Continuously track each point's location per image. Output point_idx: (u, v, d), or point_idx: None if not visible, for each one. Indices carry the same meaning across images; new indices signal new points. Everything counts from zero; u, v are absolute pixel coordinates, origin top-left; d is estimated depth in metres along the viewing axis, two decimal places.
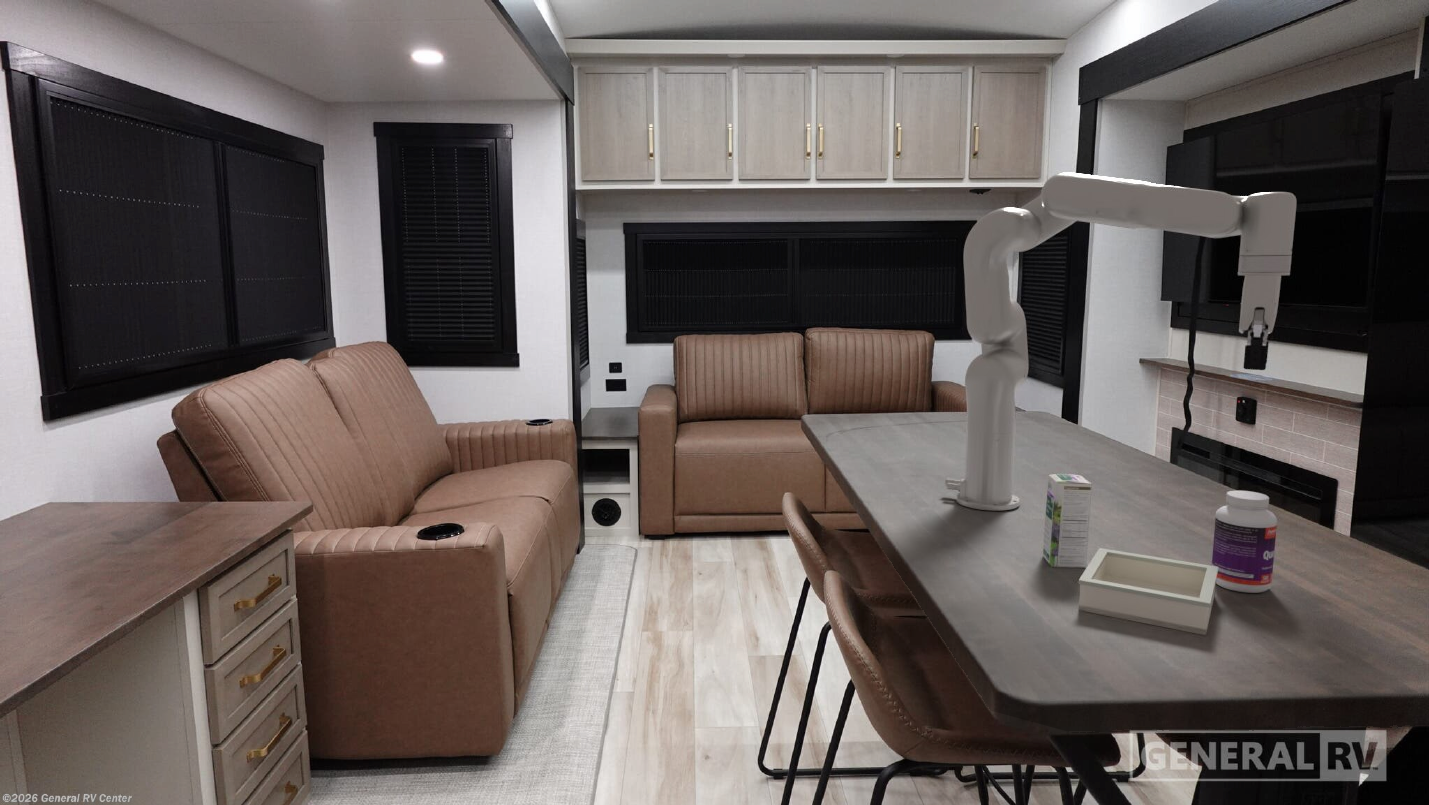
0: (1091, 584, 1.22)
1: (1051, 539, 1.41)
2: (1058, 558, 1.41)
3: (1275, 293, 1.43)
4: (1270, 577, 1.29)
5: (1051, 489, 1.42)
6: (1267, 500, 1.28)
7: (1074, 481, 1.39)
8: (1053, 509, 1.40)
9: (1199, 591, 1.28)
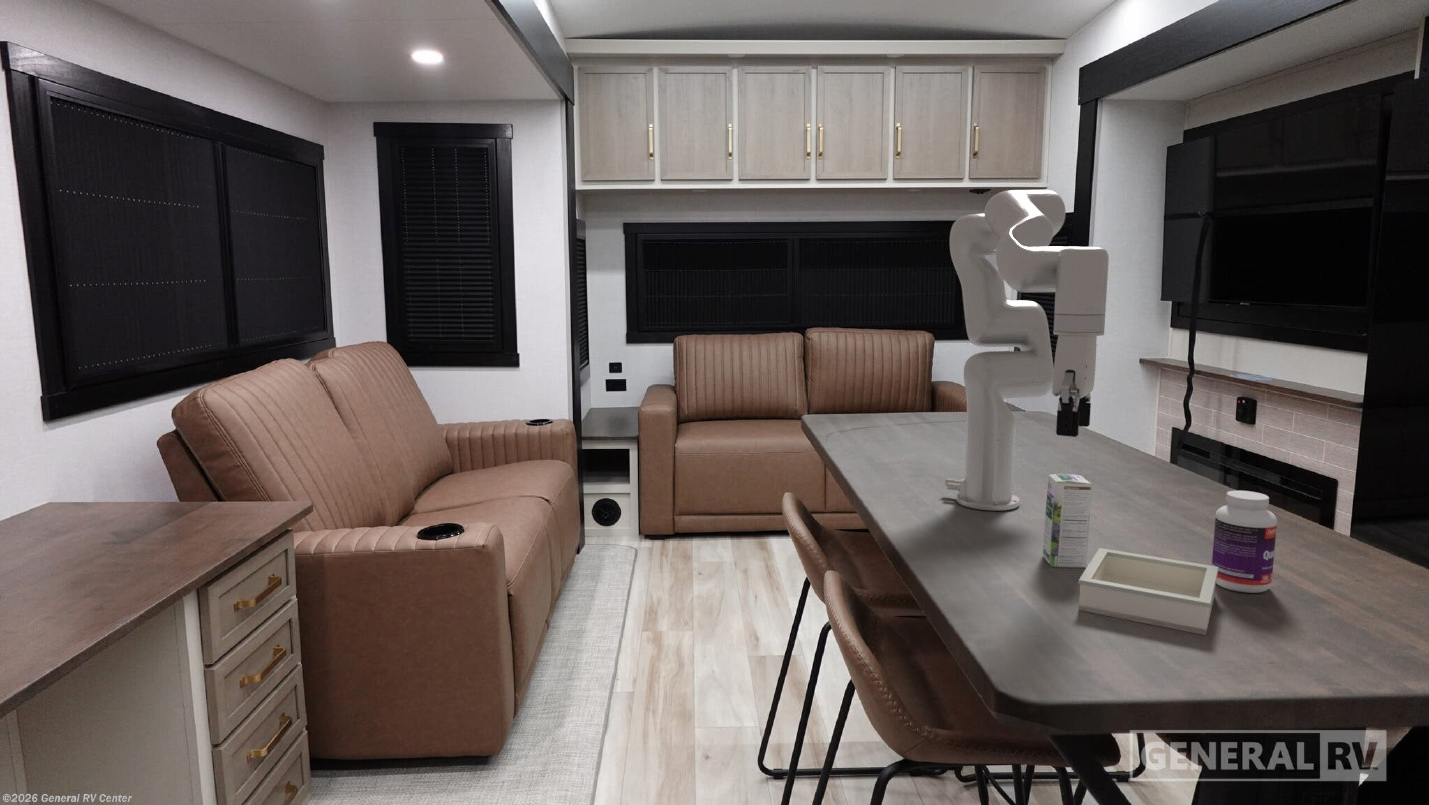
0: (1091, 584, 1.22)
1: (1051, 539, 1.41)
2: (1058, 558, 1.41)
3: (1085, 355, 1.33)
4: (1270, 577, 1.29)
5: (1051, 489, 1.42)
6: (1267, 500, 1.28)
7: (1074, 481, 1.39)
8: (1053, 509, 1.40)
9: (1199, 591, 1.28)
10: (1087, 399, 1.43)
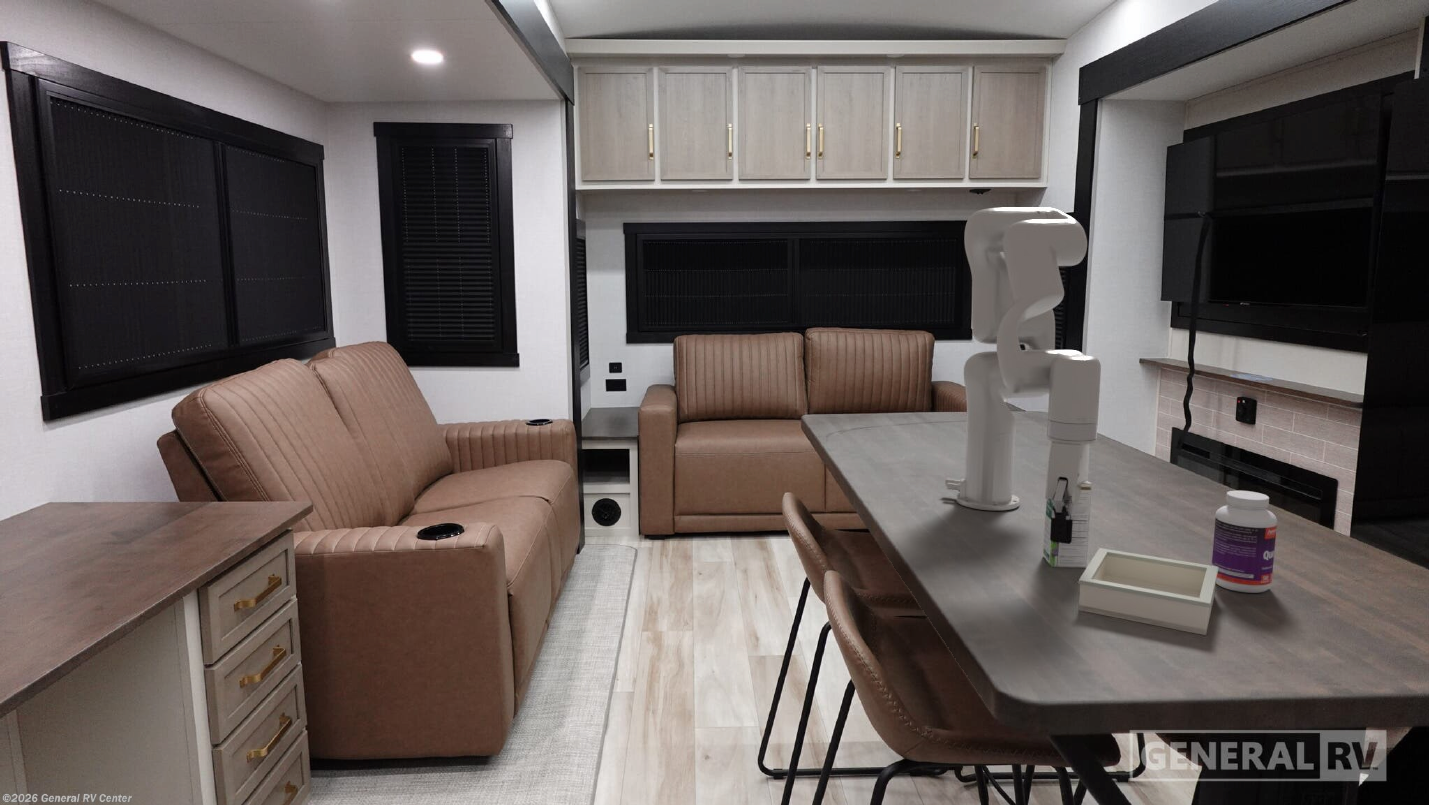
0: (1091, 584, 1.22)
1: None
2: (1058, 558, 1.41)
3: (1078, 463, 1.36)
4: (1270, 577, 1.29)
5: None
6: (1267, 500, 1.28)
7: None
8: None
9: (1199, 591, 1.28)
10: None
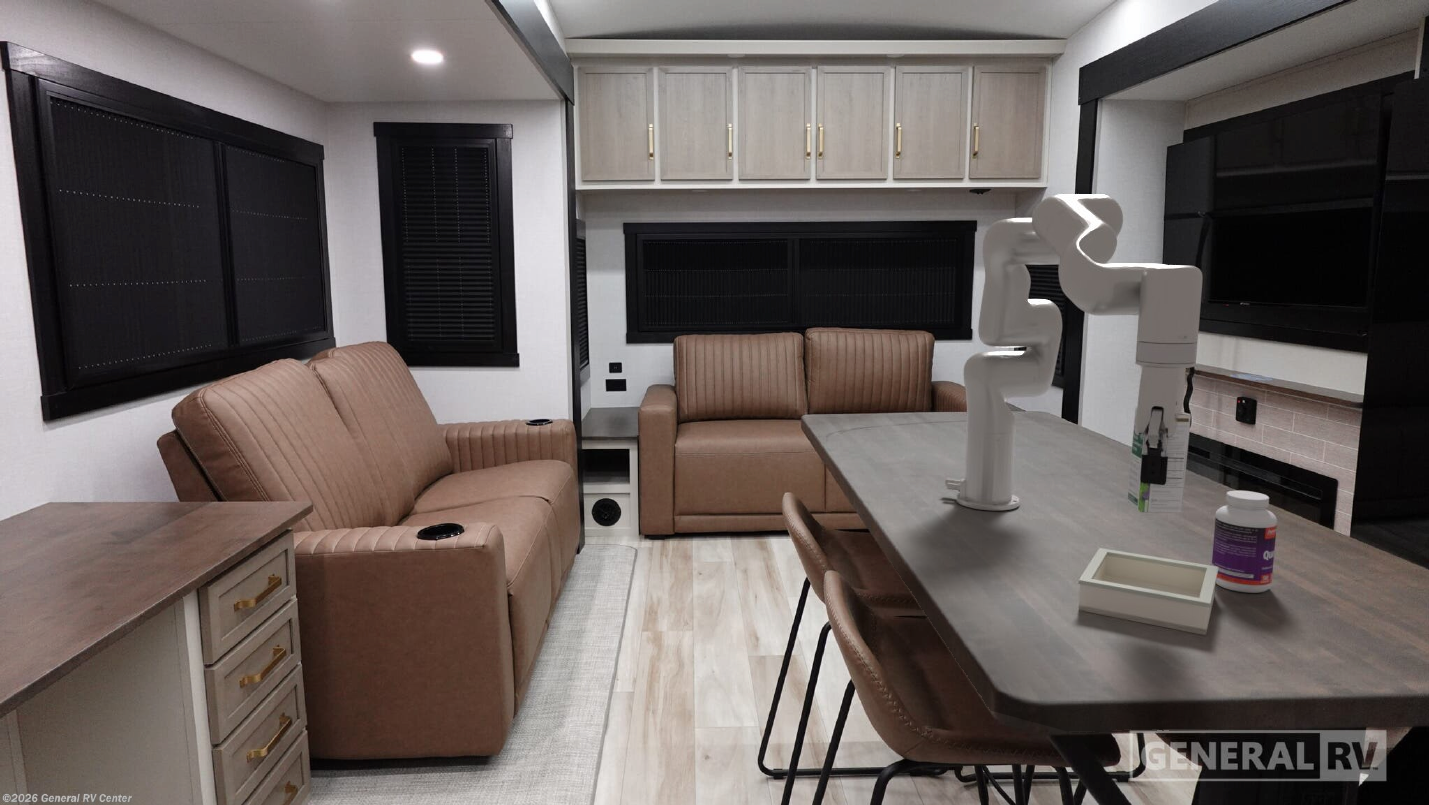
0: (1091, 584, 1.22)
1: None
2: (1149, 502, 1.21)
3: (1176, 390, 1.16)
4: (1270, 577, 1.29)
5: None
6: (1267, 500, 1.28)
7: None
8: None
9: (1199, 591, 1.28)
10: None
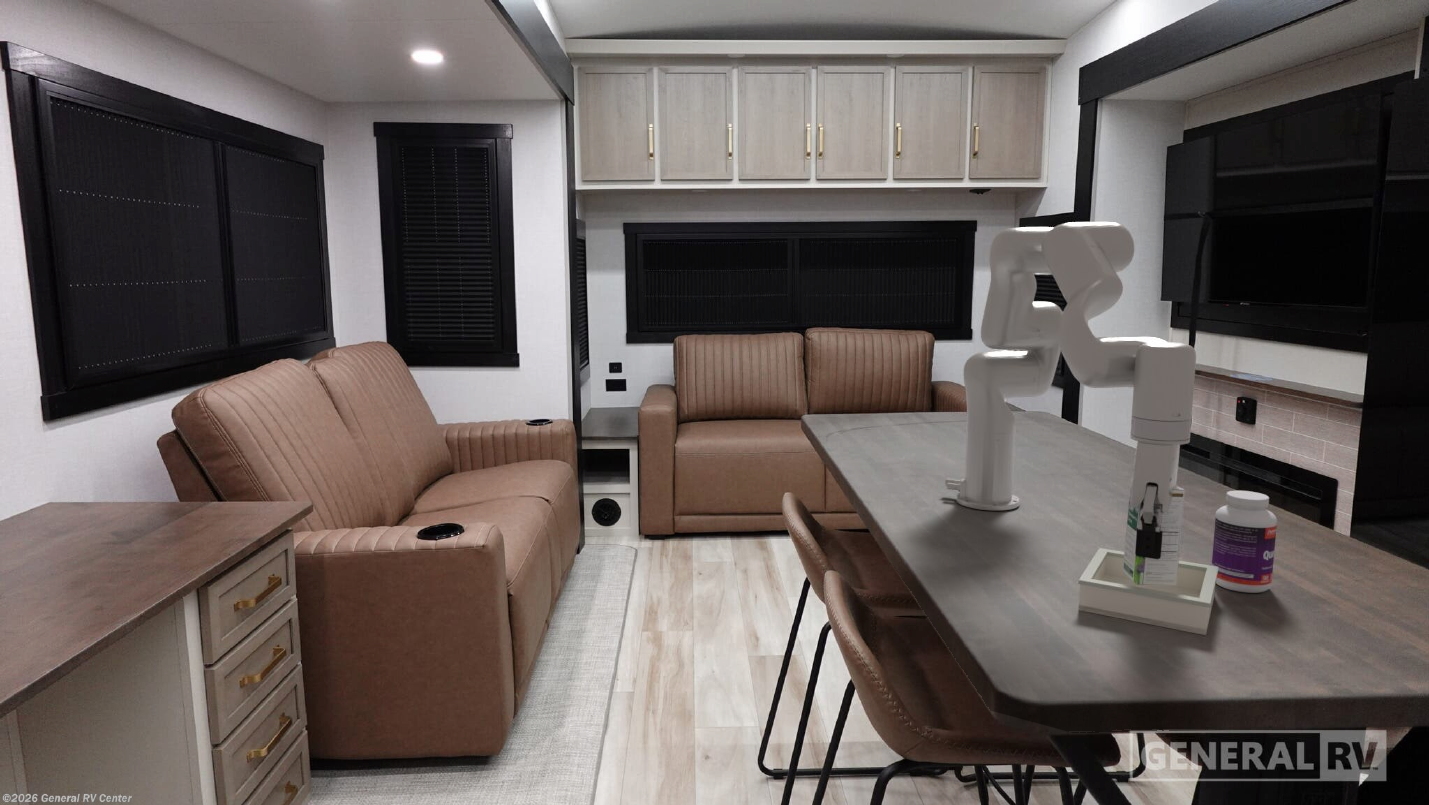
0: (1091, 584, 1.22)
1: None
2: (1144, 575, 1.23)
3: (1170, 467, 1.18)
4: (1270, 577, 1.29)
5: None
6: (1267, 500, 1.28)
7: None
8: None
9: (1199, 591, 1.28)
10: None
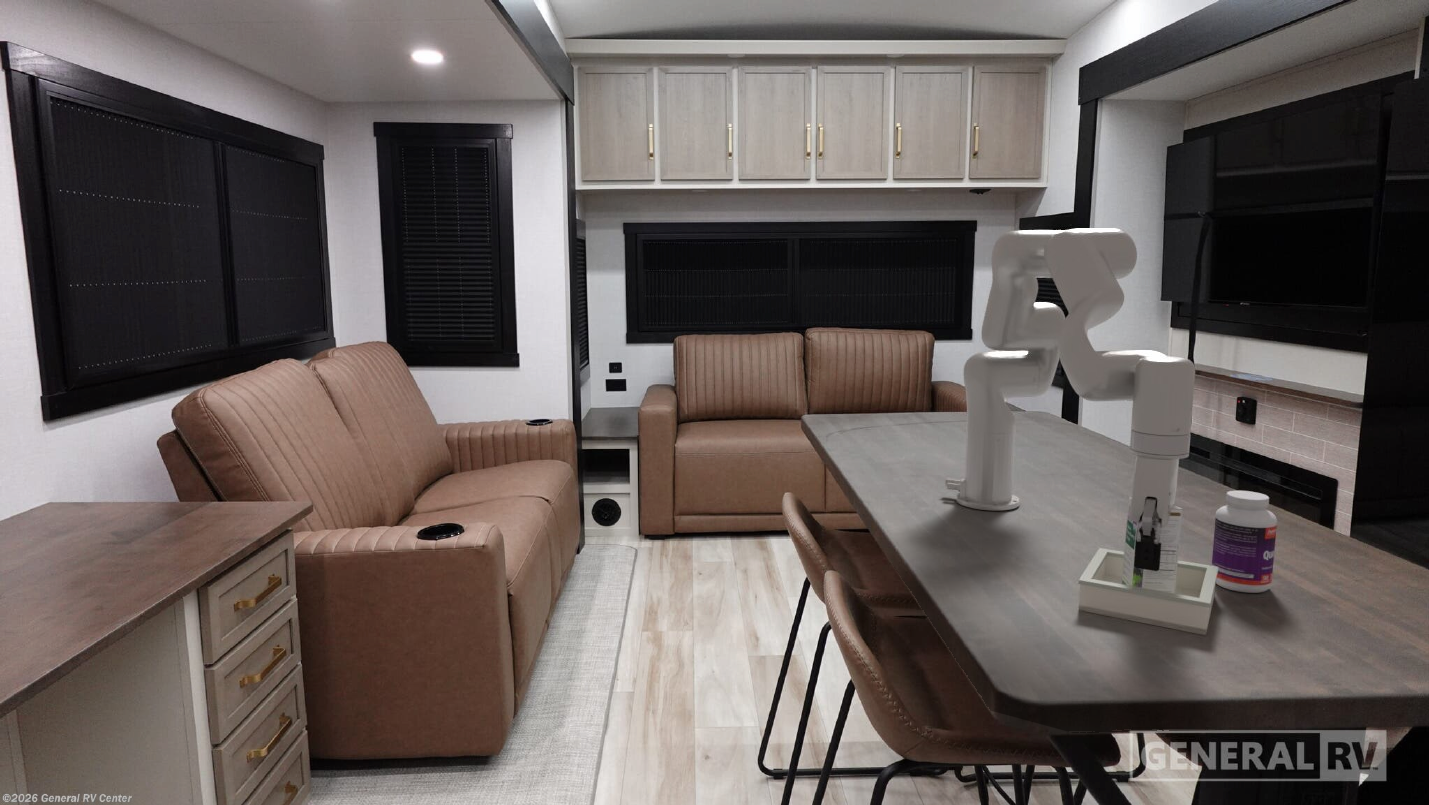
0: (1091, 584, 1.22)
1: (1134, 571, 1.24)
2: None
3: (1169, 481, 1.18)
4: (1270, 577, 1.29)
5: None
6: (1267, 500, 1.28)
7: None
8: None
9: (1199, 591, 1.28)
10: None
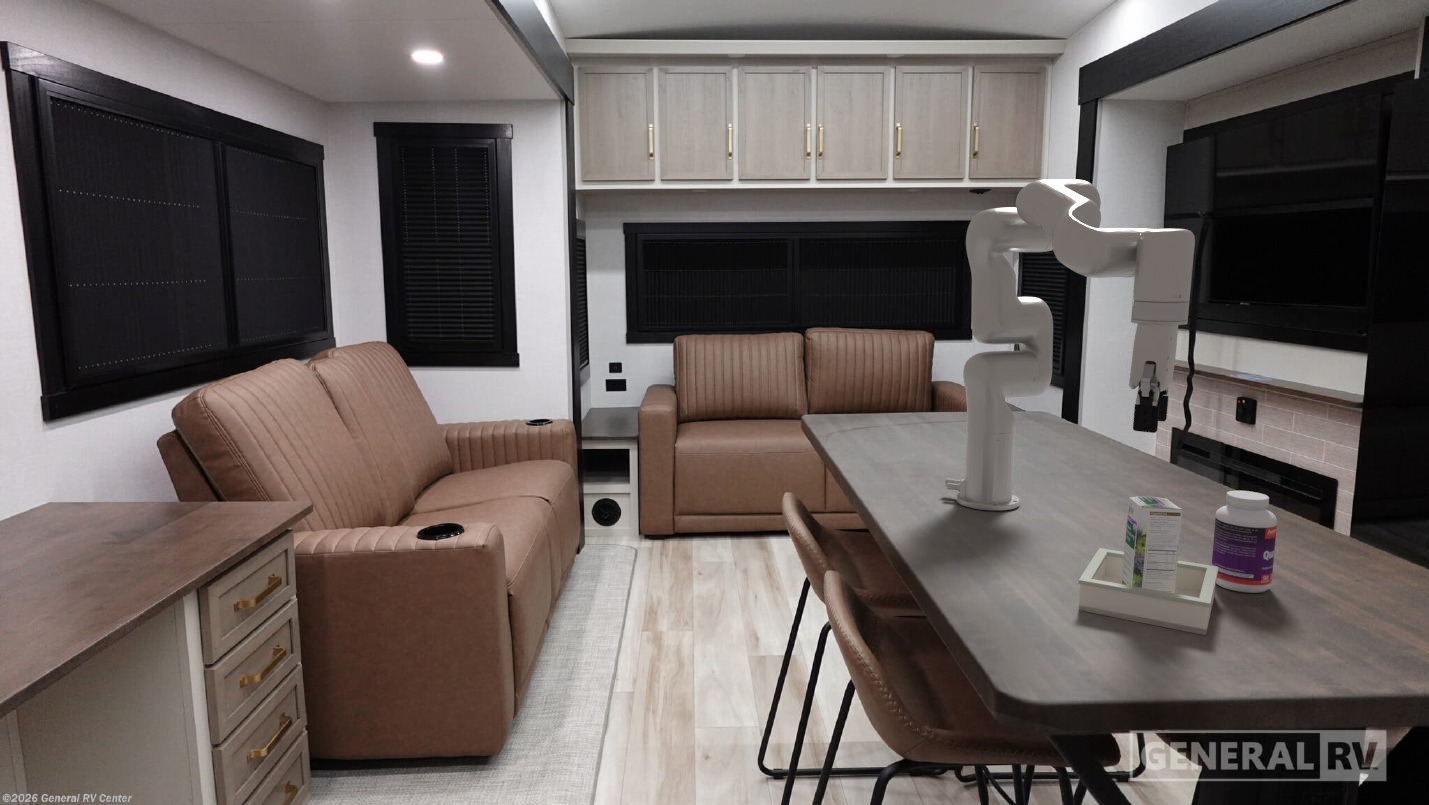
0: (1091, 584, 1.22)
1: (1134, 571, 1.24)
2: None
3: (1168, 346, 1.24)
4: (1270, 577, 1.29)
5: (1133, 514, 1.25)
6: (1267, 500, 1.28)
7: (1161, 506, 1.22)
8: (1137, 537, 1.23)
9: (1199, 591, 1.28)
10: (1164, 392, 1.33)
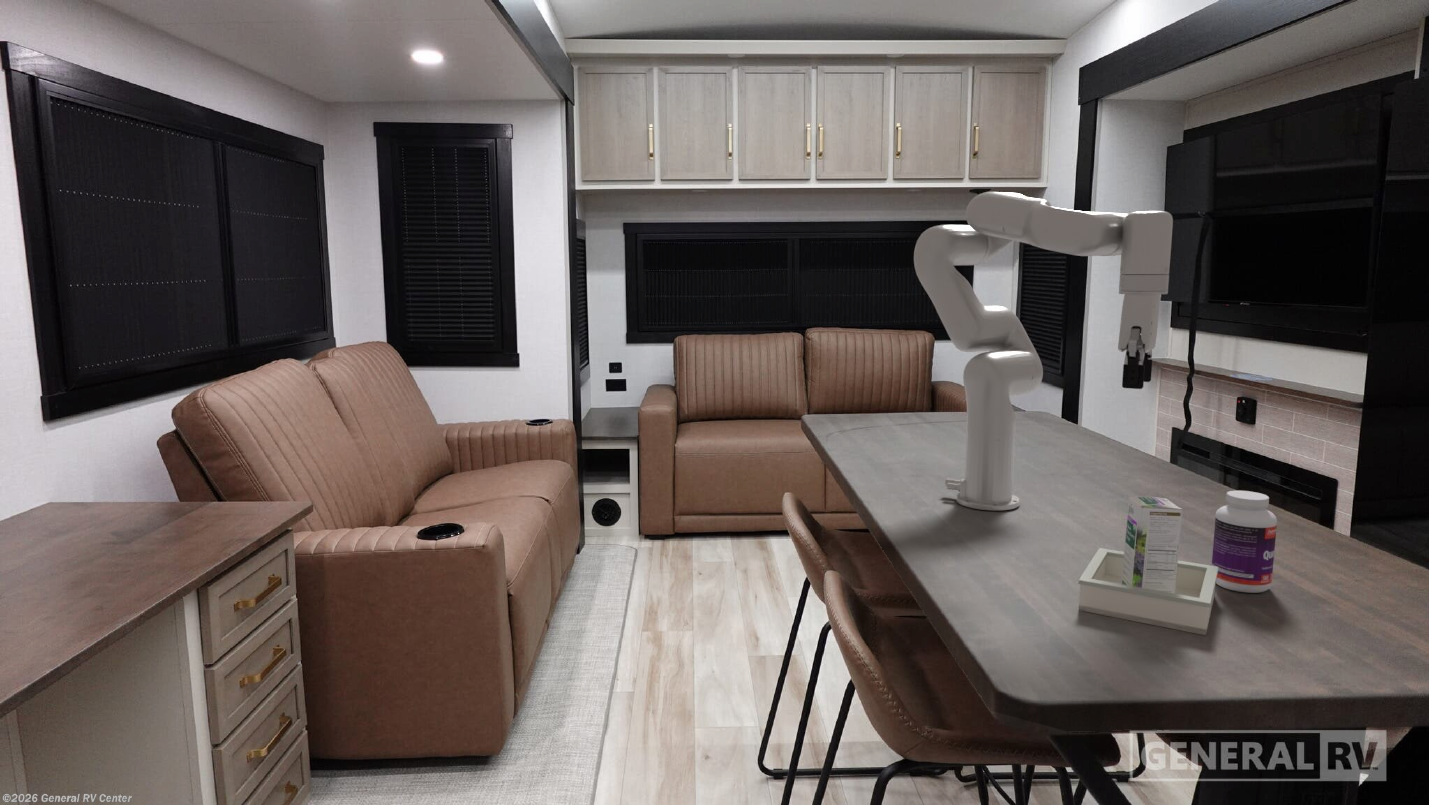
0: (1091, 584, 1.22)
1: (1134, 571, 1.24)
2: None
3: (1151, 312, 1.43)
4: (1270, 577, 1.29)
5: (1133, 514, 1.25)
6: (1267, 500, 1.28)
7: (1161, 506, 1.22)
8: (1137, 537, 1.23)
9: (1199, 591, 1.28)
10: (1149, 356, 1.52)
